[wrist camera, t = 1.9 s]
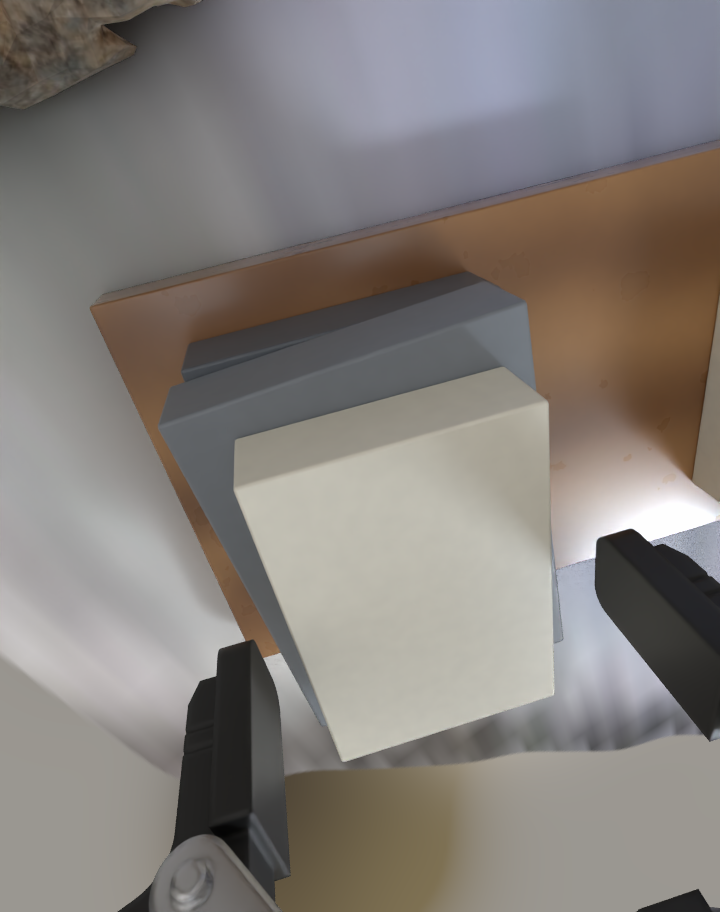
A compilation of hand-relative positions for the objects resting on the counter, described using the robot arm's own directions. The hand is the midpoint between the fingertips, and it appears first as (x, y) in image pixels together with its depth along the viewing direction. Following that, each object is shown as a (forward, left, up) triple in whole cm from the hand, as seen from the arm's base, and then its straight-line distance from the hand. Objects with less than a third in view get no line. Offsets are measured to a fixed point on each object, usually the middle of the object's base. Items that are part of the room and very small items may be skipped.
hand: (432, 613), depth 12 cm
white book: (0, 0, -2) cm, 2 cm away
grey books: (0, 0, -6) cm, 6 cm away
